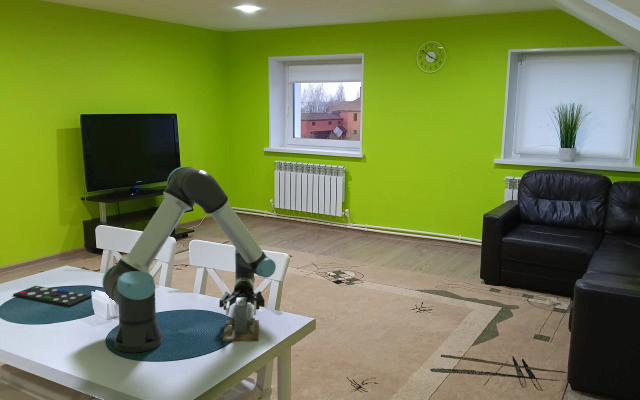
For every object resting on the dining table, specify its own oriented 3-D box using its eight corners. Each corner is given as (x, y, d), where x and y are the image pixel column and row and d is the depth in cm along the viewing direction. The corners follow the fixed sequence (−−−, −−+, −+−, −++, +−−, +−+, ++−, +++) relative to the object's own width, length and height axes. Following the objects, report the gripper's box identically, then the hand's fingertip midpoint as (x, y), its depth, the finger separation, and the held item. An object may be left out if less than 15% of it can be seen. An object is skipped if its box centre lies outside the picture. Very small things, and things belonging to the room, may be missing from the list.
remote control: (36, 288, 238) (35, 284, 238) (91, 299, 227) (91, 294, 227) (13, 297, 228) (12, 292, 227) (70, 308, 217) (69, 303, 217)
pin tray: (222, 341, 189) (222, 331, 188) (226, 323, 204) (226, 314, 204) (258, 340, 190) (258, 331, 189) (258, 322, 206) (258, 313, 205)
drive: (235, 334, 192) (234, 306, 190) (236, 323, 202) (236, 296, 200) (246, 334, 192) (246, 306, 190) (247, 323, 202) (247, 296, 200)
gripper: (271, 298, 216) (272, 321, 194) (215, 299, 214) (209, 322, 192) (271, 280, 214) (272, 300, 192) (215, 280, 212) (209, 301, 190)
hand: (241, 311), depth 192 cm, fingers open, 9 cm apart
